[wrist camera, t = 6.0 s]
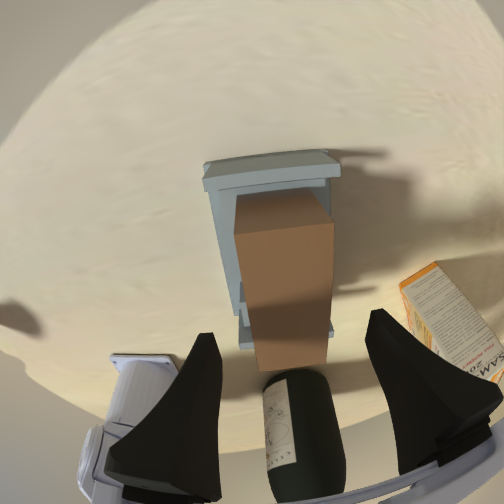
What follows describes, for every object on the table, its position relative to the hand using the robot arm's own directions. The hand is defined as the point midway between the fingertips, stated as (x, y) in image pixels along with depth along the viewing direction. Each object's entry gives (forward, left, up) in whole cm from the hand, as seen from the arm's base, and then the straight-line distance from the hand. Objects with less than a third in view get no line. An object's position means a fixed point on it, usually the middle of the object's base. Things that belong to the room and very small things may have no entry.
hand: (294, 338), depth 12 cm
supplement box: (-9, -15, -10) cm, 20 cm away
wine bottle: (-20, -1, -10) cm, 22 cm away
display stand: (0, 0, -10) cm, 10 cm away
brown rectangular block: (0, 0, -6) cm, 6 cm away
